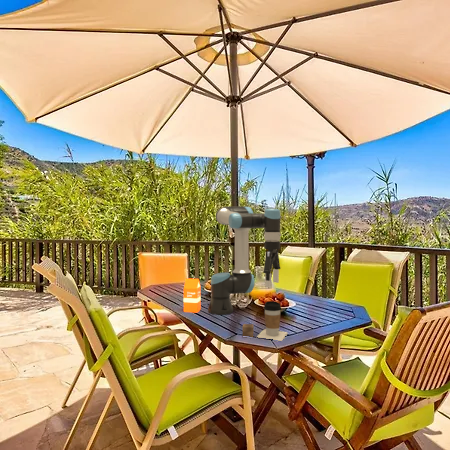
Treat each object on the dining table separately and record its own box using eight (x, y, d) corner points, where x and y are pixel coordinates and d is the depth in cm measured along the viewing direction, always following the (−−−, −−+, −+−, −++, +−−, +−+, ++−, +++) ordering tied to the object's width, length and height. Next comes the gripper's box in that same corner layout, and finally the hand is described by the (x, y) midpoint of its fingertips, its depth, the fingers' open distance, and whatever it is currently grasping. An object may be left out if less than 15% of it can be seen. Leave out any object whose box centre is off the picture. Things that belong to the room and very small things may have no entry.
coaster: (256, 338, 156) (256, 336, 156) (264, 330, 167) (264, 329, 167) (281, 342, 152) (281, 340, 152) (287, 333, 163) (287, 332, 163)
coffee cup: (279, 331, 164) (279, 301, 164) (282, 337, 156) (282, 305, 156) (262, 331, 164) (262, 301, 164) (265, 337, 156) (265, 305, 155)
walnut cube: (242, 337, 158) (242, 326, 158) (243, 333, 163) (243, 323, 163) (253, 337, 157) (253, 327, 157) (253, 334, 162) (253, 324, 162)
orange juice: (197, 312, 201) (197, 279, 201) (183, 311, 203) (183, 279, 202) (200, 309, 208) (200, 277, 208) (187, 308, 210) (187, 277, 210)
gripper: (273, 242, 147) (272, 290, 147) (286, 239, 170) (285, 281, 170) (256, 242, 150) (256, 288, 150) (271, 239, 173) (271, 279, 173)
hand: (272, 284), depth 160 cm, fingers open, 13 cm apart
